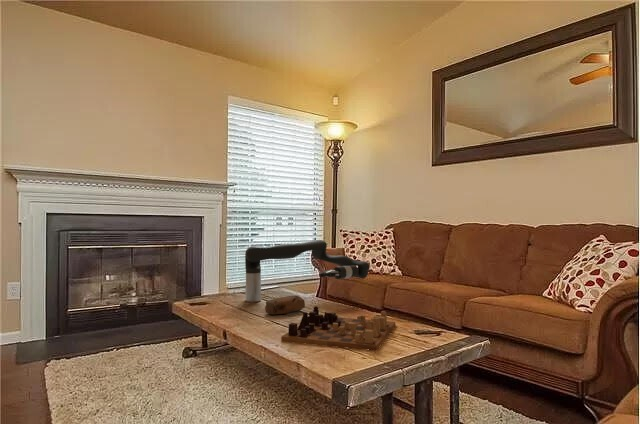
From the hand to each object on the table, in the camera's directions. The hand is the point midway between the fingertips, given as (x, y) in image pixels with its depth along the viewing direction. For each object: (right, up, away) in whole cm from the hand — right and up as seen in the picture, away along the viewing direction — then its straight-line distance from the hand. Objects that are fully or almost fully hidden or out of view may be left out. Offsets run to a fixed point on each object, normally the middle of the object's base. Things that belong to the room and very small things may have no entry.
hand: (319, 275), depth 245 cm
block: (-11, -14, -8) cm, 19 cm away
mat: (-20, -18, -9) cm, 28 cm away
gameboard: (+10, -18, -55) cm, 59 cm away
